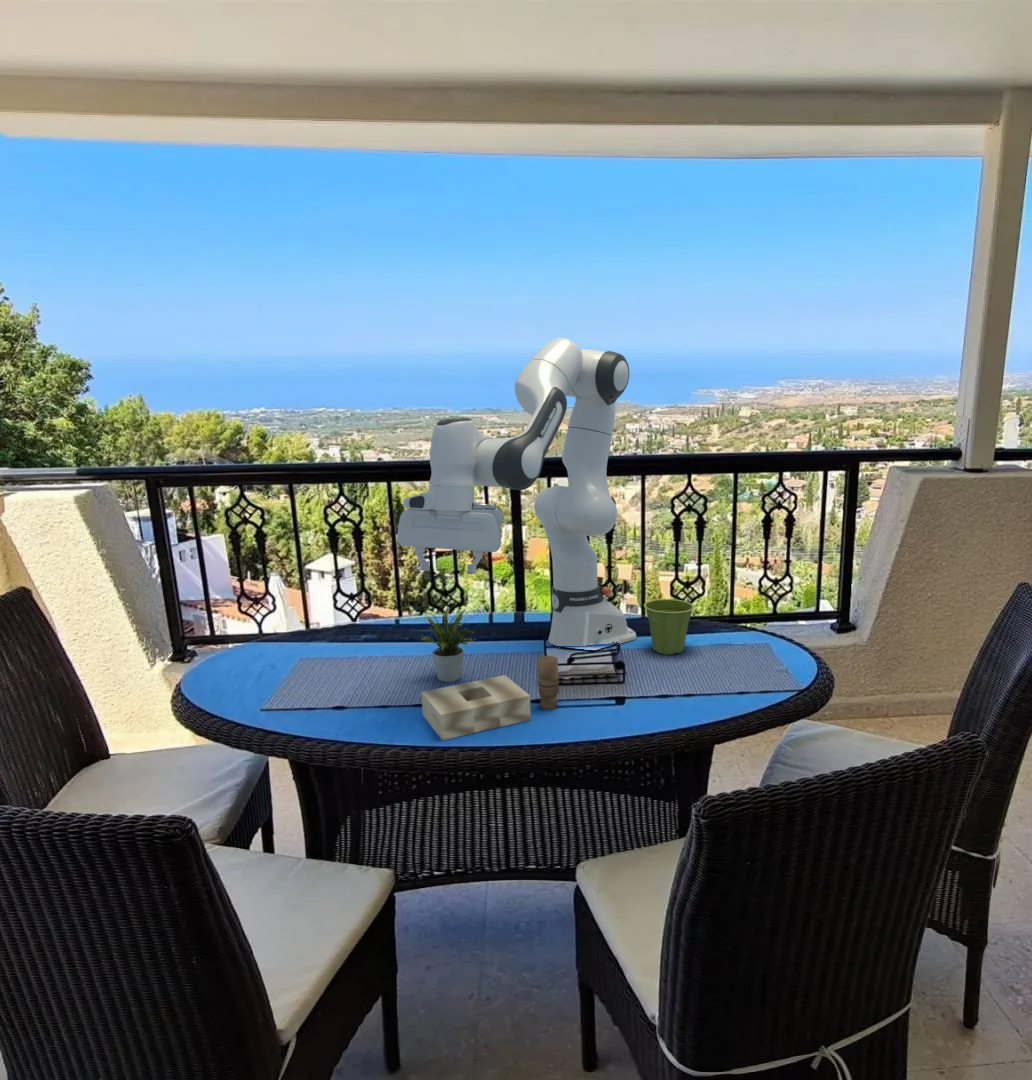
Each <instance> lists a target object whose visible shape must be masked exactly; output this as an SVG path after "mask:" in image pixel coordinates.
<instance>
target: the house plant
mask: <svg viewBox="0 0 1032 1080" xmlns="http://www.w3.org/2000/svg"><path fill="white" fill-rule="evenodd" d="M448 610H449V607H447V608H446V610H445V612H444V611H442V616H443V617H442V618H443V625H444V627H443V626H441V624H440V623H439V621H438V618H436V616H435V615H434V614H432V613H429V612H428V614H430V615H432V617H433V618H434V619H435V621H436V623H435V621H433V620H432V618H431V616H428V615H426V614H424V615H425V616H424V618H425V620H427V621H428V622H429V625H431V626H432V627H433V628H432V627H429V628H427V629H429V630H430V631H432V633H433V635H435V637H436V638H435V639H436V640H437V641H436V640H435V639H433V638H432V637H430V636H426V635H425V636H423V637H422V638H421V639H420V642H421V641H423V642H422V644H423V643H433V645H434V644H436V645H437V646H438V647H437V648H435V649H434V650H432V652H431V653H432V656H433V661H434V666H435V670H436V675H437V680H439V681H440V682H446V683H450V682H456V681H458V680H460V679H462V672H463V665H464V655H465V649H464V648H463V647H461V646H459V645H461V644H462V645H465V646H466V647H469V646H468V641H469V642H472V644H475V642H474V640H473V639H472V638H471V637H467V636H466V635H469V634H471V633H472V634H476V632H474V631H471V630H469V628H462V629H460V628H461V627H462V626H463V624H464V623H466V622H467V621H468V620H471V619H472V618H474V616H472V617H469V618H467V619H466V620H464V622H462V623H460V622H461V621H462V618H463V614H464V613H465V612H466V610H467V608H464V609H463V610H461V611H459V612H458V613H456V614H455V615H454V616H453V617H452V619H451V621H450V623H449V620H448ZM415 619H416V620H420V621H423V622H424V623H426V621H425V620H423V619H421V618H419V617H415ZM458 626H459V627H458ZM464 636H465V637H464Z"/></svg>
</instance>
